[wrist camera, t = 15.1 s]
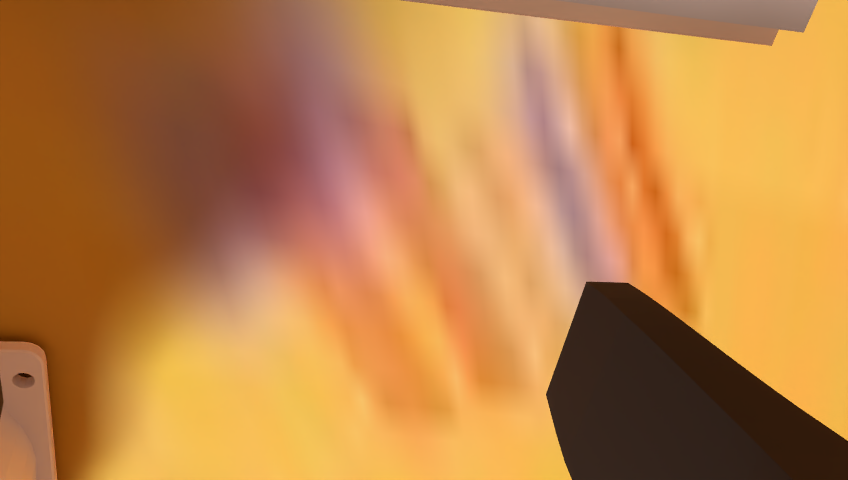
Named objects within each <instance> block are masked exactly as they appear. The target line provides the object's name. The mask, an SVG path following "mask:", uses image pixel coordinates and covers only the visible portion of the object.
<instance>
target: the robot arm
mask: <svg viewBox="0 0 848 480" xmlns="http://www.w3.org/2000/svg"><path fill="white" fill-rule="evenodd" d="M19 373H27V374H30V375H31V376H33V377H28V378H27V377H21V376H20V375H18V374H19ZM546 396H547V400H548V404H549V408H550V411H551V415H552V419H553V423H554V427H555V431H556V434H557V437H558V441H559V444H560V447H561V451H562V454H563V457H564V461H565V464H566V466H567V468H568V471H569V473H570V476H571V478H572V480H848V441H847V440H846V439H844V438H843V437H841V436H840V435H838V434H837V433H835V432H834V431H832V430H831V429H829V428H828V427H826V426H825V425H824V424H822V423H821V422H819V421H818V420H816V419H815V418H813V417H812V416H810V415H809V414H807V413H806V412H804V411H803V410H802V409H800V408H799V407H797V406H796V405H794V404H793V403H792V402H790V401H789V400H787V399H786V398H785V397H783V396H782V395H781V394H779V393H778V392H776V391H775V390H774V389H772V388H771V387H769V386H768V385H767V384H765V383H764V382H763V381H761V380H760V379H759V378H757V377H756V376H754V375H753V374H752V373H750V372H749V371H748V370H746V369H745V368H744V367H742V366H741V365H740V364H738V363H737V362H736V361H734V360H733V359H732V358H730V357H729V356H728V355H726V354H725V353H724V352H723V351H721V350H720V349H719V348H717V347H716V346H715V345H713V344H712V343H711V342H709V341H708V340H707V339H705V338H704V337H703V336H701V335H700V334H699V333H697V332H696V331H695V330H694V329H692V328H691V327H690V326H688V325H687V324H686V323H684V322H683V321H682V320H680V319H679V318H678V317H676V316H675V315H674V314H672V313H671V312H669V311H668V310H667V309H665V308H664V307H663V306H661V305H660V304H659V303H657V302H656V301H654V300H653V299H652V298H650V297H649V296H647V295H646V294H644V293H643V292H641V291H640V290H638V289H637V288H635V287H633V286H632V285H630V284H629V283H614V282H586V285H585V287H584V290H583V293H582V296H581V298H580V301H579V304H578V307H577V310H576V312H575V315H574V318H573V321H572V324H571V326H570V329H569V332H568V335H567V337H566V340H565V343H564V346H563V349H562V351H561V354H560V357H559V360H558V363H557V365H556V368H555V371H554V374H553V376H552V379H551V382H550V385H549V388H548V390H547V393H546ZM0 480H57V471H56V460H55V449H54V438H53V427H52V416H51V405H50V394H49V383H48V372H47V361H46V355H45V352H44V350H42V349H41V348H40V347H39V346H38V345H35V344H33V343H30V342H13V341H0Z"/></svg>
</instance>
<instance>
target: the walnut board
mask: <svg viewBox="0 0 848 480" xmlns="http://www.w3.org/2000/svg"><path fill="white" fill-rule="evenodd" d="M403 1H411V2H419V3H427V4H435V5H443V6H452V7H460V8H468V9H476V10H484V11H492V12H501V13H509V14H517V15H525V16H533V17H541V18H550V19H558V20H566V21H574V22H582V23H590V24H599V25H607V26H615V27H623V28H631V29H640V30H648V31H656V32H664V33H672V34H680V35H689V36H697V37H705V38H713V39H721V40H729V41H738V42H746V43H754V44H762V45H770V46H772V44H773V42H774V39H775V37H776V35H777V32H778V30H779V29H781V30H788V31H796V32H804V31H805V28H806V26H807V24H808V22H809V19H810V17H811V15H812V13H813V10H814V8H815V6H816V4H817V1H818V0H403Z"/></svg>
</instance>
